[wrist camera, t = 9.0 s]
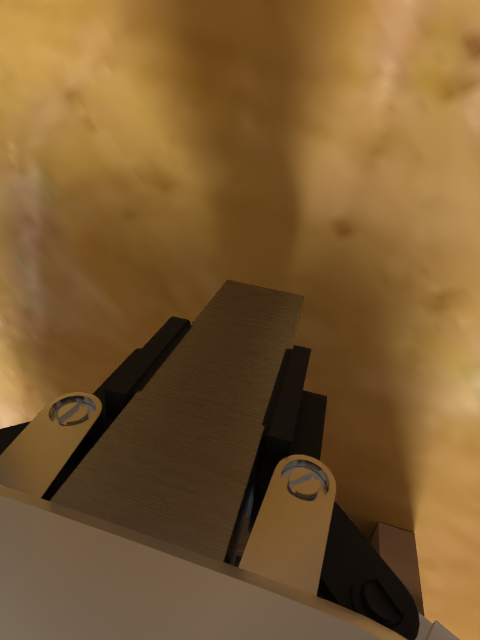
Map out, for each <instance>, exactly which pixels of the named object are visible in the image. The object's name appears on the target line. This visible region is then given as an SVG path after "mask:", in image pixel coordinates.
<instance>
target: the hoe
mask: <svg viewBox="0 0 480 640" xmlns="http://www.w3.org/2000/svg"><path fill="white" fill-rule="evenodd" d="M303 299H304V296H301V295H296V294H291V293H287V292H282V291H277V290H273V289H268V288H263V287H259V286H254V285H249V284H245V283H240V282H235V281H231V280H227V281H226V282H225V283H224V285H223V286H222V287H221V288H220V290H219V291H218V292H217V293H216V295H215V296H214V297H213V298H212V300H211V301H210V302H209V303H208V305H207V306H206V307H205V308H204V310H203V311H202V312H201V313H200V315H199V316H198V317H197V318H196V320H195V321H194V322H193V323H192V325H191V326H192V328H191V329H190V330H189V331H188V333H187V334H186V335H185V336H184V338H183V339H182V340H181V341H180V343H179V344H178V345H177V346H176V348H175V349H174V350H173V352H172V353H171V354H170V355H169V357H168V358H167V359H166V360H165V362H164V363H163V364H162V365H161V367H160V368H159V369H158V371H157V372H156V373H155V374H154V376H153V377H152V378H151V379H150V381H149V382H148V383H147V384H146V386H145V387H144V388H143V389H142V391H141V392H140V391H138V392H137V393H136V394H135V395H134V397H133V398H132V399H131V400H130V402H129V403H128V404H127V405H126V407H125V408H124V409H123V410H122V412H121V413H120V414H119V415H118V417H117V418H116V419H115V420H114V422H113V423H112V424H111V425H110V427H109V428H108V429H107V430H106V432H105V433H104V434H103V435H102V437H101V438H100V439H99V440H98V442H97V443H96V444H95V445H94V447H93V448H92V449H91V450H90V452H89V453H88V454H87V455H86V457H85V458H84V459H83V460H82V461H81V463H80V464H79V465H78V466H77V468H76V469H75V470H74V471H73V473H72V474H71V475H70V476H69V478H68V479H67V480H66V481H65V483H64V484H63V485H62V486H61V488H60V489H59V490H58V491H57V493H56V494H55V495H54V496H53V498H52V499H51V500H50V502H52V503H55V504H58V505H61V506H64V507H67V508H70V509H73V510H76V511H78V512H81V513H84V514H87V515H90V516H93V517H96V518H99V519H102V520H104V521H107V522H110V523H113V524H116V525H119V526H122V527H125V528H127V529H130V530H133V531H136V532H139V533H142V534H145V535H147V536H150V537H153V538H156V539H159V540H162V541H165V542H168V543H170V544H173V545H176V546H179V547H182V548H184V549H187V550H190V551H193V552H196V553H199V554H201V555H204V556H207V557H210V558H213V559H215V560H218V561H221V562H224V563H227V564H230V565H232V566H235V567H239V564H240V561H241V559H242V556H243V553H244V551H245V548H246V545H247V542H248V540H249V537H250V533H249V531H248V525H249V520H250V515H247V511H248V505H249V500H250V495H251V490H252V484H253V479H254V474H255V469H256V463H257V458H258V453H259V448H260V443H261V438H262V434H263V430H264V426H262V422H263V419H264V416H265V413H266V410H267V407H268V403H269V400H270V397H271V394H272V391H273V388H274V384H275V381H276V378H277V375H278V372H279V369H280V366H281V362H282V359H283V356H284V353H285V350H286V349H288V348H289V349H293V346H294V342H295V337H296V332H297V328H298V323H299V318H300V314H301V309H302V304H303Z"/></svg>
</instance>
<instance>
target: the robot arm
mask: <svg viewBox="0 0 480 640" xmlns="http://www.w3.org/2000/svg"><path fill="white" fill-rule="evenodd" d="M191 328H192V326H191V325H190V321H189V320H187V319H182V318H178V317H174V316H172V317H171V318H170V319H169V320H168V321H167V322H166V323H165V324H164V325H163V326H162V327H161V329H160V330H159V331H158V332H157V333H156V334H155V335H154V336H153V337H152V338H151V339H150V340H149V341H148V343H147V344H146V345H145V346H144V347H143V348H142V349H140V348H139V349H136V350H135V351H133V353H132V354H131V355H130V356H129V357H128V358H127V359H126V360H125V361H124V362H123V363H122V364H121V365H120V366H119V367H118V368H117V369H116V370H115V371H114V372H113V373H112V375H111V376H110V377H109V378H108V379H107V380H106V381H105V382H104V383H103V384H102V385H101V386H100V387H99V388H98V389H97V390H96V391H95V392H94V393H93V394H90V393H86V392H71V393H67V394H63V395H60V396H58V397H56V398H54V399H53V400H51V401H50V402H49V403H48V404H47V405H46V406H45V407H44V408H43V409H42V410H41V411H40V412H39V413H38V415H37V416H36V417H35V418H34V419H33V420H32V421H30V422H26V423H22V424H18V425H14V426H10V427H7V428H3V429H0V640H459V639H458V638H457V637H456V636H455V635H453V634H452V633H451V632H450V631H449V630H447V629H446V628H445V627H444V626H442V625H441V624H440V623H439V622H438V621H435V622H434V623H433V624H432V623H431V622H430V621H428V620H427V619H426V618H425V617H424V616H423V615H421V614H420V613H419V612H418V609H417V607H416V604H415V602H414V599H413V597H412V596H411V594H410V593H409V591H408V590H407V588H406V587H405V585H404V584H403V583H402V582H401V581H400V579H399V578H398V577H397V576H396V574H395V573H394V572H393V571H392V570H391V568H390V567H389V566H388V565H387V564H386V562H385V561H384V560H383V559H382V558H381V556H380V555H379V554H378V553H377V551H376V550H375V549H374V548H373V547H372V545H371V544H370V543H369V542H368V541H367V539H366V538H365V537H364V536H363V534H362V533H361V532H360V531H359V530H358V528H357V527H356V526H355V525H354V524H353V522H352V521H351V520H350V519H349V518H348V516H347V515H346V514H345V513H344V511H343V510H342V509H341V508H340V507H339V505H338V504H337V503H336V502H335V501H334V500H335V494H336V481H335V479H334V476H333V474H332V473H331V471H330V470H329V469H328V467H327V466H325V465H324V464H323V463H322V462H321V461H320V455H321V446H322V438H323V429H324V420H325V412H326V403H327V396H323V395H319V394H316V393H312V392H308V391H304V390H303V386H304V381H305V376H306V371H307V367H308V362H309V357H310V352H311V349H309V348H305V347H301V346H296V345H294V346H293V349H289V348H288V349H286V350H285V353H284V356H283V359H282V362H281V366H280V369H279V372H278V375H277V378H276V381H275V384H274V388H273V391H272V394H271V397H270V400H269V403H268V407H267V410H266V413H265V416H264V419H263V422H262V426H264V430H263V434H262V438H261V443H260V448H259V453H258V458H257V463H256V469H255V474H254V479H253V484H252V490H251V495H250V500H249V505H248V511H247V515H250V520H249V525H248V531H249V533H250V537H249V540H248V542H247V545H246V548H245V551H244V553H243V556H242V559H241V561H240V564H239V567H235V566H232V565H230V564H227V563H224V562H221V561H218V560H215V559H213V558H210V557H207V556H204V555H201V554H199V553H196V552H193V551H190V550H187V549H184V548H182V547H179V546H176V545H173V544H170V543H168V542H165V541H162V540H159V539H156V538H153V537H150V536H147V535H145V534H142V533H139V532H136V531H133V530H130V529H127V528H125V527H122V526H119V525H116V524H113V523H110V522H107V521H104V520H102V519H99V518H96V517H93V516H90V515H87V514H84V513H81V512H78V511H76V510H73V509H70V508H67V507H64V506H61V505H58V504H55V503H52V502H50V500H51V499H52V498H53V496H54V495H55V494H56V493H57V491H58V490H59V489H60V488H61V486H62V485H63V484H64V483H65V481H66V480H67V479H68V478H69V476H70V475H71V474H72V473H73V471H74V470H75V469H76V468H77V466H78V465H79V464H80V463H81V461H82V460H83V459H84V458H85V457H86V455H87V454H88V453H89V452H90V450H91V449H92V448H93V447H94V445H95V444H96V443H97V442H98V440H99V439H100V438H101V437H102V435H103V434H104V433H105V432H106V430H107V429H108V428H109V427H110V425H111V424H112V423H113V422H114V420H115V419H116V418H117V417H118V415H119V414H120V413H121V412H122V410H123V409H124V408H125V407H126V405H127V404H128V403H129V402H130V400H131V399H132V398H133V397H134V395H135V394H136V393H137V392H138V391H140V392H141V391H142V389H143V388H144V387H145V386H146V384H147V383H148V382H149V381H150V379H151V378H152V377H153V376H154V374H155V373H156V372H157V371H158V369H159V368H160V367H161V365H162V364H163V363H164V362H165V360H166V359H167V358H168V357H169V355H170V354H171V353H172V352H173V350H174V349H175V348H176V346H177V345H178V344H179V343H180V341H181V340H182V339H183V338H184V336H185V335H186V334H187V333H188V331H189V330H190V329H191Z"/></svg>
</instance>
